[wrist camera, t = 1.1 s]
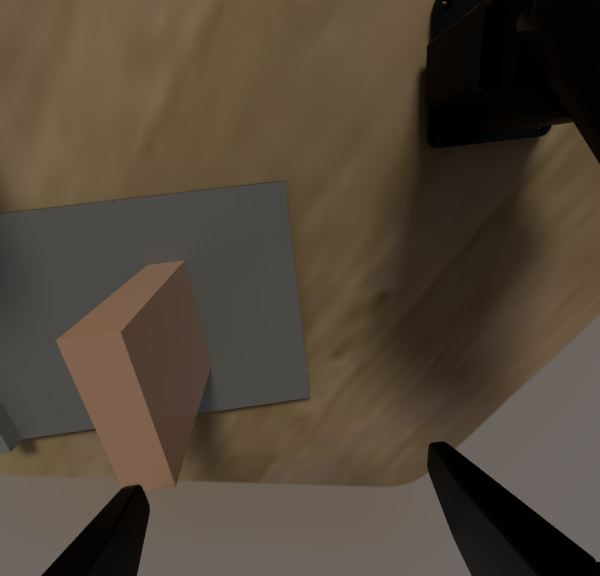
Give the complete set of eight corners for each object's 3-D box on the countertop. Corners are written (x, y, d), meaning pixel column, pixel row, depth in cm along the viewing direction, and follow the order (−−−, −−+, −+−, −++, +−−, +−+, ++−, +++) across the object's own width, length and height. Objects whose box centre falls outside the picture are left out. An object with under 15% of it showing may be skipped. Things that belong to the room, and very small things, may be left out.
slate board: (284, 180, 17) (286, 182, 16) (309, 389, 22) (312, 408, 21) (-103, 225, 16) (-145, 231, 15) (15, 431, 22) (-6, 454, 20)
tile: (184, 260, 17) (120, 332, 10) (210, 366, 20) (175, 486, 13) (145, 265, 17) (52, 340, 10) (177, 371, 20) (122, 494, 13)
